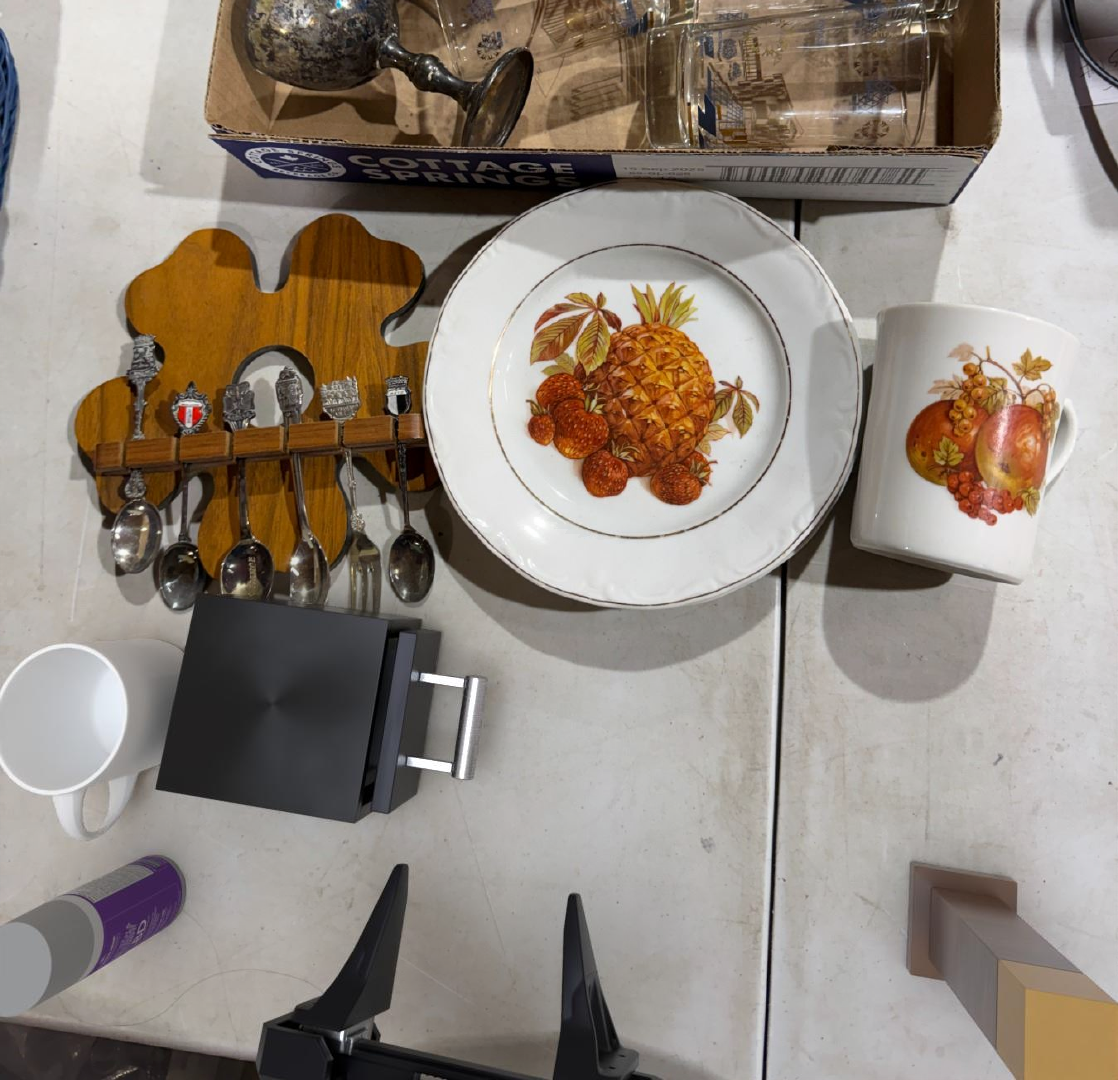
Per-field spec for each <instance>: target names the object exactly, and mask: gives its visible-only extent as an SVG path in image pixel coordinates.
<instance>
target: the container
mask: <svg viewBox="0 0 1118 1080" xmlns="http://www.w3.org/2000/svg"><path fill="white" fill-rule="evenodd" d="M185 881H186V880H185V877H184V875H183V873H182V870H181V869H180V868H179V866H178V864H176V863H175V861H173V860H172V859H170V858H168V857H166V856H164V855H161V854H160V855H159V854H150V855H146V856H143V857H141V858H139V859H136V860H134V861H132V862H130V863H128V864H125V865H122V866H121V867H118V868H117V869H115V870H113V871H110V872H108V873H106V874H104V875H102V876H100V877H97V878H95V879H92V880H90V881H89V882H86V883H85V884H82V885H80V886H77V887H75V888H73V889H71V890H69V891H67V892H65V893H62V894H61V895H58V896H56V897H54V898H51V899H50V900H47V901H46V902H44V903H43V904H41V905H38V906H36V907H34V908H32V909H31V910H29V911H27V912H24V913H23V914H21V915H18V916H17V917H15V918H13V919H11V920H9V921H8V922H5V923H3V924H1V925H0V1017H1V1018H2V1017H3V1018H14V1017H17V1016H20V1015H23V1014H25V1013H27V1012H28V1011H30V1010H32V1009H34V1008H36V1007H37V1006H39V1005H40V1004H42V1003H44V1002H46V1001H48V1000H49V999H51V998H53V997H55V996H56V995H58V994H60V993H62V992H63V991H65V990H67V989H69V988H70V987H72V986H74V985H75V984H78V983H79V982H82V981H83V980H85V979H87V978H88V977H89V976H91V975H92V974H94V973H96V972H98V971H99V970H101V969H102V968H103V967H105V966H107V965H108V964H111V963H112V962H114V961H115V960H117V959H118V958H120V957H121V956H123V955H125V954H126V953H128V952H129V951H131V950H133V949H134V948H136V947H137V946H139V945H140V944H141V945H142V943H144V942H146V941H147V940H149V939H150V938H153V936H155V935H157V934H158V933H160V932H162V931H163V930H165V929H167V927H169V926H170V925H171V924H172V923H174V922H175V920H176V919H177V918H178V916H179V915H180V914H181V911H182V909H183V907H184V904H185V899H186V893H187V891H186V882H185Z"/></svg>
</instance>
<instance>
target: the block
mask: <svg viewBox="0 0 1118 1080" xmlns="http://www.w3.org/2000/svg"><path fill="white" fill-rule="evenodd" d="M995 1052H996V1054H997V1056H998V1057H999V1058H1000V1060H1001V1061H1002V1063H1003V1064H1004V1065H1005V1067H1006V1068H1007V1069H1008V1071H1009V1072H1010V1074H1011V1075H1012V1076H1013V1078H1014V1079H1015V1080H1118V1001H1116V1000H1115V999H1114V998H1113V997H1112V996H1111V995H1110V994H1108V993H1107V992H1106V991H1105V990H1104V989H1102V988H1101V987H1100V985H1099V984H1097V983H1096V982H1095V981H1094V980H1093V979H1091V978H1090V977H1089V976H1088V975H1087V974H1086V973H1084V974H1082V973H1076V972H1070V971H1064V970H1059V969H1053V968H1047V967H1042V966H1036V965H1030V964H1024V963H1019V962H1013V961H1007V960H1001V959H998V994H997V1044H996V1051H995Z"/></svg>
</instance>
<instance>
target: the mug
mask: <svg viewBox="0 0 1118 1080" xmlns="http://www.w3.org/2000/svg"><path fill="white" fill-rule="evenodd" d="M183 655H184V651H182V650H181V649H180V648H179V647H177V646H175V645H174V644H171V643H168V642H166V641H164V640H159V639H155V638H154V639H153V638H129V639H116V640H115V639H112V640H95V641H78V642H77V641H76V642H61V643H55V644H51V645H49V646H45V647H43V648H40V649H39V650H37V651H35V652H33V653H32V654H30V655H29V656H27V657H26V658H25V659H24V660H22V661H21V662H20V663H19V664H18V665H17V666H16V667H15V668H14V669H13V670H12V671H11V673H10V674H9V675H8V677H7V678H6V680H5V681H4V683H3V685H2V687H1V688H0V766H1V768H2V770H3V771H4V773H5V774H6V775H7V776H8V777H9V779H11V780H12V781H13V783H15V784H16V785H17V786H19V787H20V788H22V789H24V790H26V791H28V792H31V793H34V794H37V795H40V796H41V795H42V796H49V797H50V796H51V798H52V801H53V805H54V809H55V812H56V815H57V818H58V820H59V823H60V824H61V826H62V828H63V830H64V831H65V832H66V834H67V835H68V836H70V837H71V838H72V839H74V840H77V841H79V842H90V841H92V840H95V839H96V838H98V837H100V836H102V835H104V834H105V833H106V832H107V831H108V830H110V829H111V828H112V827H113V826H114V825H115V823H116V822H117V821H118V820H119V818H120V817H121V815H122V814H123V812H124V811H125V809H126V807H127V806H128V804H129V802H130V799H131V796H132V794H133V792H134V789H135V786H136V783H137V780H138V776H139V774H140V773H141V772H143V771H147V770H149V769H151V768H154V767H156V766H158V765H159V766H160V764H161V759H162V754H163V750H164V745H165V740H166V736H167V731H168V726H169V721H170V717H171V712H172V707H173V703H174V698H175V693H176V688H177V684H178V679H179V674H180V670H181V665H182V660H183ZM106 782H107V784H108V791H109V793H108V795H109V802H108V809H107V813H106V815H105V818H104V820H103V822H102V824H101V825H100V827H98V828H97V829H96V830H94V831H88V830H87V829H86V827H85V823H84V817H83V811H84V810H83V809H84V802H85V795H86V792H87V790H88V788H90V787H94V786H96V785H99V784H103V783H106Z"/></svg>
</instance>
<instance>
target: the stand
mask: <svg viewBox="0 0 1118 1080" xmlns="http://www.w3.org/2000/svg"><path fill="white" fill-rule="evenodd" d="M909 869H910V870H909V890H908V891H909V892H908V916H907V917H908V919H907V940H906V943H907V945H906V966H905V967H906V971H908V973H909V974H910V976H913V977H914V976H915V977H920V978H925V979H931V980H936V981H942V982H945V984H947V986H948V988H949V989H950V990H951V992H952V993H953V994H954V996H955V997H956V998H957V1000H958V1001H959V1002H960V1004H961V1005H962V1007H963V1008H964V1010H965V1011H966V1012H967V1014H968V1015H969V1017H970V1018H971V1019H972V1021H973V1022H974V1023H975V1024H976V1026H977V1027H978V1029H979V1030H980V1031H981V1033H982V1034H983V1035H984V1037H985V1038H986V1039H987V1041H988V1042H989V1044H990V1045H991V1046H992V1048H993V1049H994V1051H995V1052H996V1044H997V994H998V959H1001V960H1007V961H1013V962H1019V963H1024V964H1030V965H1036V966H1042V967H1047V968H1053V969H1059V970H1064V971H1070V972H1076V973H1082V974H1085V973H1084V972H1083V971H1082V970H1081V969H1080V968H1079V967H1078V966H1077V965H1076V964H1074V963H1072V961H1071V960H1069V959H1068V958H1067V957H1066V956H1065V955H1064V954H1063V953H1061V952H1060V951H1059V949H1057V948H1056V947H1055V946H1054V945H1053V944H1051V943H1050V942H1049V941H1048V940H1047V939H1046V938H1045V937H1044V936H1043V935H1042V934H1040V933H1039V932H1038V931H1037V930H1036V929H1035V928H1034V927H1033V926H1031V925H1030V924H1029V923H1028V922H1027V921H1026V920H1024V918H1023V917H1021V916H1020V915H1019V914H1018V882H1017V881H1016V880H1014V879H1013V878H1012V877H1010V876H1004V875H1003V876H1002V875H996V874H990V873H984V872H978V871H972V870H967V869H960V868H954V867H948V866H941V865H936V864H931V863H924V862H918V861H910V868H909Z"/></svg>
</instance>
